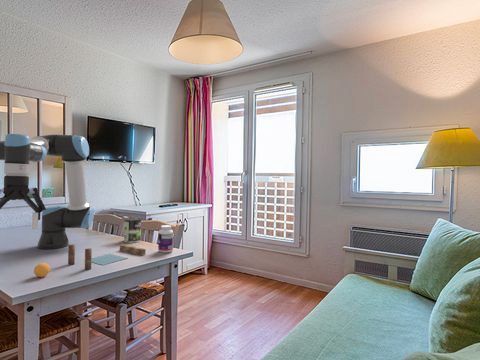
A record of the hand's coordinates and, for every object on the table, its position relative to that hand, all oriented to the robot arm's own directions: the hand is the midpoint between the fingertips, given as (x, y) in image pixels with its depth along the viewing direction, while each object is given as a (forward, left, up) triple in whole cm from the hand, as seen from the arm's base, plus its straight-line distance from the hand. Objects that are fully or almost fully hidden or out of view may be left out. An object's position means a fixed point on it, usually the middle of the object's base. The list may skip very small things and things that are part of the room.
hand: (15, 231), depth 111 cm
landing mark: (-1, +40, -20) cm, 45 cm away
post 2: (+6, +26, -20) cm, 33 cm away
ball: (-1, +10, -18) cm, 20 cm away
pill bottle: (+12, +68, -21) cm, 72 cm away
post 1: (-7, +26, -20) cm, 34 cm away
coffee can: (-23, +75, -21) cm, 81 cm away
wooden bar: (-1, +56, -20) cm, 59 cm away
